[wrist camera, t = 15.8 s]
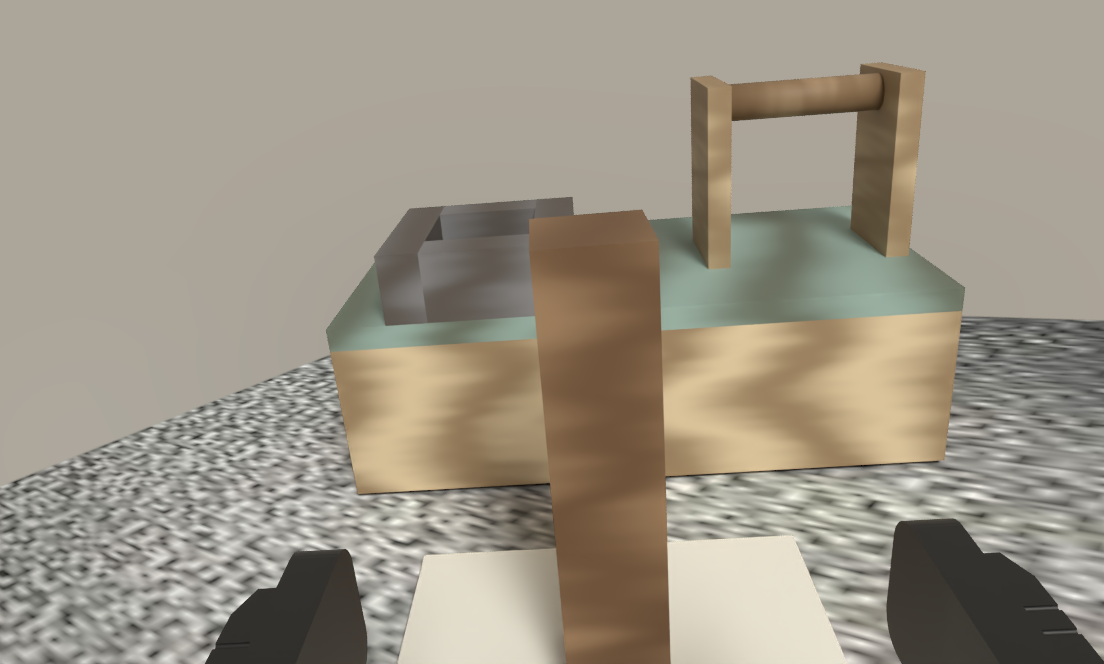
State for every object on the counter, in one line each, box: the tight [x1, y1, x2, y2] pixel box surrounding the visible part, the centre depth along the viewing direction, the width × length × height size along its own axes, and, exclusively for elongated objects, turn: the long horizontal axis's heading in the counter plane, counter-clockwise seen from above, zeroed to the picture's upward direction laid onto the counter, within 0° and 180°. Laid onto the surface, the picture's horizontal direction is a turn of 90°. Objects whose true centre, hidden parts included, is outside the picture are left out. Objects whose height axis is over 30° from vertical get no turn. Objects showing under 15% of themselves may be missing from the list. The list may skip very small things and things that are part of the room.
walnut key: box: [529, 210, 671, 664], centre depth 23 cm, size 3×3×14 cm
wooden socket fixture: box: [326, 63, 965, 494], centre depth 40 cm, size 26×14×16 cm, turn 89°
